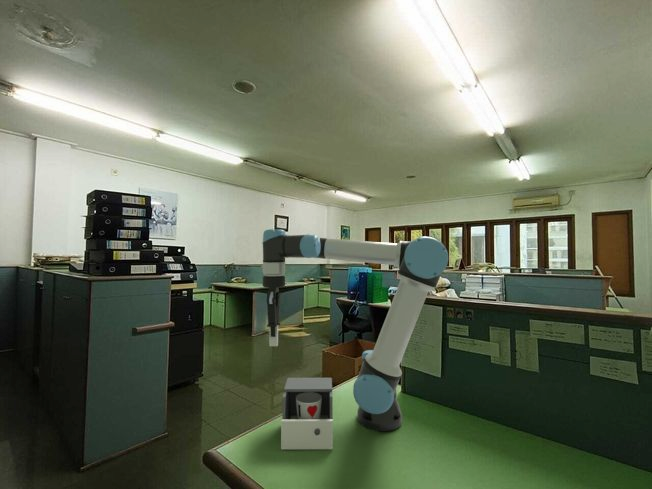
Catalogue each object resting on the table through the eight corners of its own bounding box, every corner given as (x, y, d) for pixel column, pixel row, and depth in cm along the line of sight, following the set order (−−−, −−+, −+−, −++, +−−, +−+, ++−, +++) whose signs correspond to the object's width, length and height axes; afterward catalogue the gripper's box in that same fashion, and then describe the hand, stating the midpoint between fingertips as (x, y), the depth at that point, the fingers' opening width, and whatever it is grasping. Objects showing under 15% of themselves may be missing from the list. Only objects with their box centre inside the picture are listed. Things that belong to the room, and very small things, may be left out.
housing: (287, 422, 104) (287, 377, 104) (331, 422, 104) (331, 377, 104) (281, 447, 90) (281, 395, 91) (332, 447, 90) (332, 395, 91)
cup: (292, 435, 93) (292, 402, 93) (300, 421, 101) (300, 390, 101) (318, 438, 91) (318, 404, 91) (324, 424, 99) (324, 392, 99)
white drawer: (287, 423, 103) (287, 399, 103) (331, 423, 103) (331, 398, 103) (280, 450, 88) (280, 422, 88) (332, 450, 88) (332, 422, 88)
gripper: (266, 274, 110) (266, 340, 109) (258, 276, 97) (258, 351, 96) (287, 274, 110) (287, 340, 109) (282, 276, 97) (282, 351, 96)
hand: (273, 345), depth 103 cm, fingers closed
